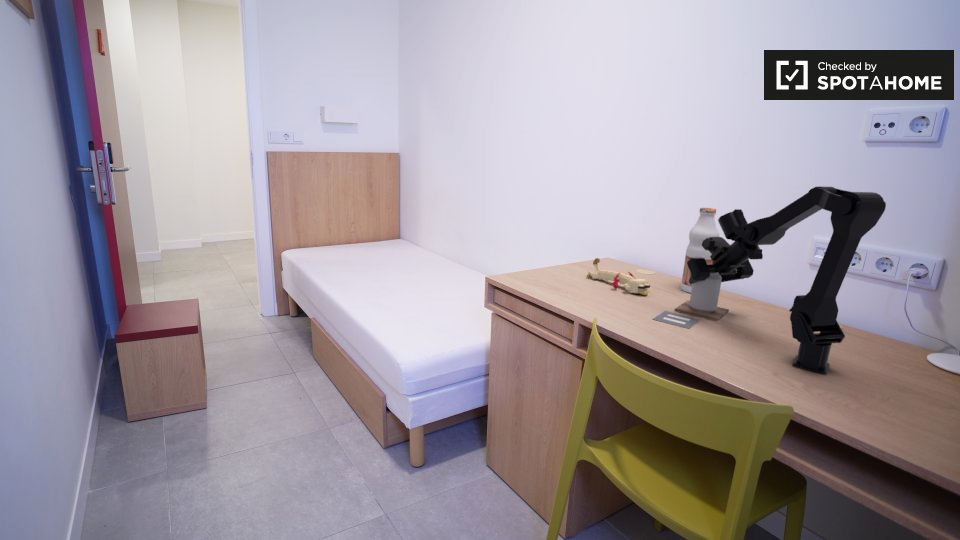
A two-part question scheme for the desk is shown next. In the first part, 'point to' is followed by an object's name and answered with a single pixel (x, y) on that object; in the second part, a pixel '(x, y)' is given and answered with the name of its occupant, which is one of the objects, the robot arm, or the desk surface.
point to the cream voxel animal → (620, 279)
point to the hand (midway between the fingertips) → (703, 282)
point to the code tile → (676, 319)
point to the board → (712, 316)
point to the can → (706, 294)
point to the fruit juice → (699, 243)
